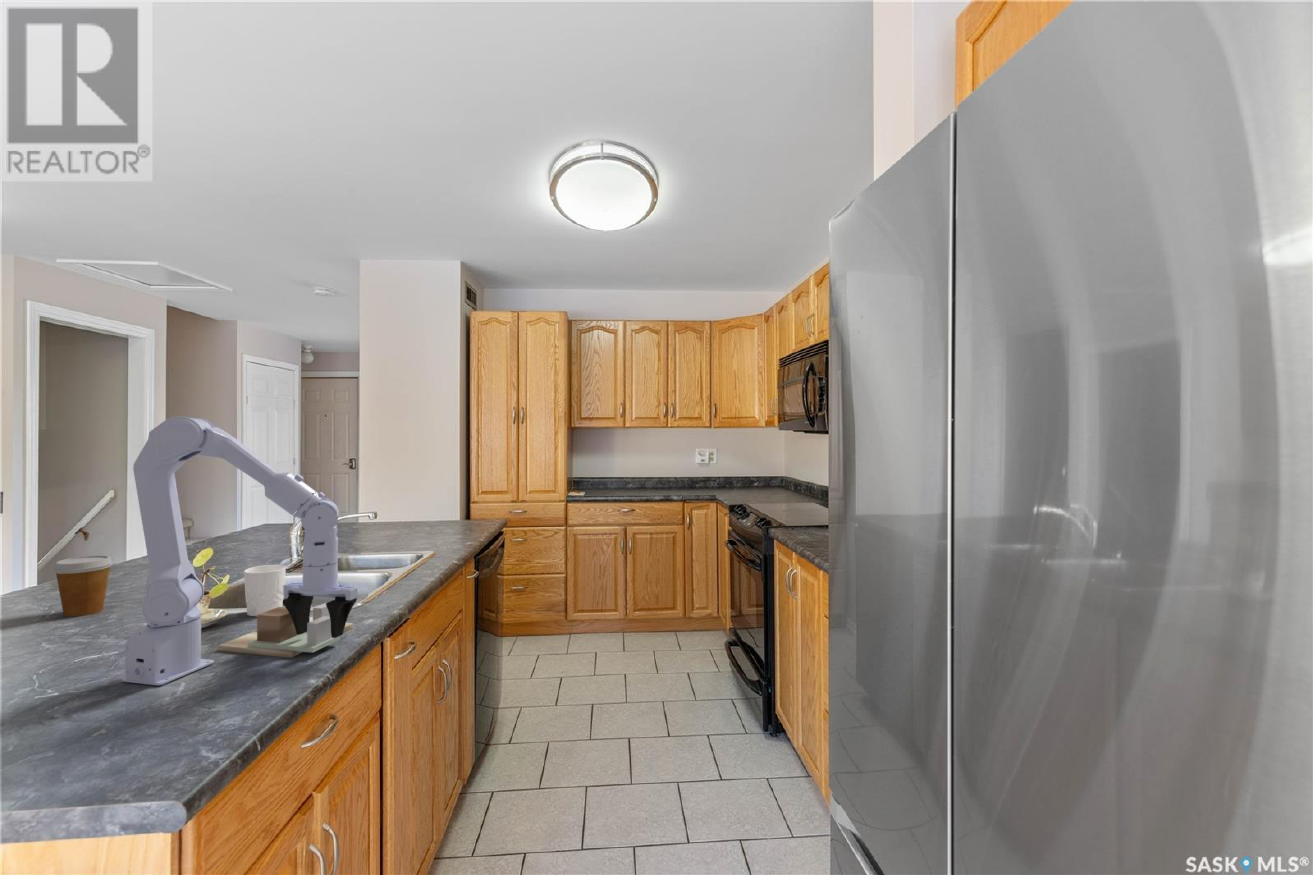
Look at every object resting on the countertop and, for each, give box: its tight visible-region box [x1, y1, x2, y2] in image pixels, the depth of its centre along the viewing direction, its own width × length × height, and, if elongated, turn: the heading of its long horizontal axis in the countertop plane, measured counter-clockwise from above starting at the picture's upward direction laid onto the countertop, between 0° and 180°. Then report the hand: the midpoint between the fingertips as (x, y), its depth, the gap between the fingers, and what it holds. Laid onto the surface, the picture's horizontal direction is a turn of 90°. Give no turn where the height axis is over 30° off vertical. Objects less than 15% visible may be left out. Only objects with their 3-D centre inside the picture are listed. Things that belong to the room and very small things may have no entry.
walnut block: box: [256, 606, 297, 643], centre depth 109 cm, size 5×5×5 cm
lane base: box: [218, 622, 354, 658], centre depth 113 cm, size 16×16×1 cm
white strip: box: [309, 602, 330, 622], centre depth 117 cm, size 7×14×5 cm, turn 79°
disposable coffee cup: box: [52, 554, 114, 618], centre depth 127 cm, size 10×10×12 cm
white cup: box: [243, 564, 287, 617], centre depth 129 cm, size 8×8×10 cm
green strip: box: [248, 616, 341, 653], centre depth 108 cm, size 7×14×5 cm, turn 79°
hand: (319, 634), depth 107 cm, fingers open, 7 cm apart
